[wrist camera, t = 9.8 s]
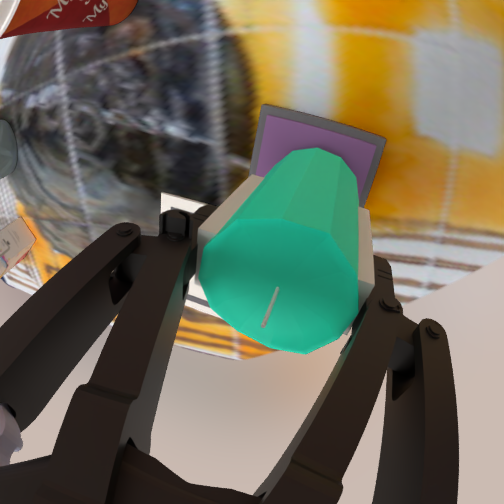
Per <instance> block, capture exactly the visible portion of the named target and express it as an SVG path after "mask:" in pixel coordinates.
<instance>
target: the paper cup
mask: <svg viewBox="0 0 504 504" xmlns="http://www.w3.org/2000/svg"><path fill="white" fill-rule="evenodd" d="M137 2H138V0H0V39H3V38H7V37H12V36H17V35H23V34H29V33H36V32H44V31H54V30H62V29H70V28H80V27H97V26H110V25H115V24H118V23H120V22H121V21H123V20H124V19H125V18H127V17H128V16H129V15H130V13H131V12H132V11H133V9H134V8H135V6H136V4H137Z"/></svg>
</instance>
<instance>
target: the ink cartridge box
mask: <svg viewBox="0 0 504 504" xmlns="http://www.w3.org/2000/svg"><path fill="white" fill-rule="evenodd" d="M35 240H36V239H35V237H34V236H33V234H32V233H31V231H30V230H29V228H28V227H27V225H26V223H25V222H24V220H23V219H22V217H19V218H18V219H16V220H15V221H13V222H12V223H11V224H9V225H8V226H6V227H5V228H4V229H2V230H1V231H0V278H1V277H2V276H3V275H4V274H6V273H7V272H8V271H9V270H10V269H12V268H13V267H14V266H15V265H16V264H18V263H19V262H20V261H21V260H22V259H24V258H25V256H26V254H27V253H28V251H29V250H30V248H31V247H32V245H33V243H34V242H35Z"/></svg>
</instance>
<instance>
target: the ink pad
mask: <svg viewBox="0 0 504 504" xmlns="http://www.w3.org/2000/svg"><path fill="white" fill-rule="evenodd" d="M385 143H386V139H385V138H384V137H381V136H379V135H376V134H373V133H370V132H367V131H364V130H361V129H358V128H355V127H352V126H348V125H345V124H342V123H339V122H335V121H332V120H328V119H325V118H321V117H318V116H314V115H310V114H306V113H302V112H298V111H294V110H290V109H286V108H281V107H277V106H272V105H268V104H263V105H262V106H261V112H260V117H259V122H258V128H257V133H256V138H255V144H254V149H253V155H252V160H251V166H250V171H249V177H250V176H251V175H252V174H253V175H257V176H260V177H265V176H266V175H267V173H268V172H269V171H270V170H271V169H272V168H273V167H274V166H275V165H276V164H277V163H278V162H279V161H281V160H282V159H283V158H284V157H286V156H287V155H288V154H289V153H291V152H292V151H294V150H302V149H310V148H320V149H322V150H325V151H327V152H329V153H332V154H334V155H336V156H339V157H341V158H342V159H343V161H344V162H345V163H346V164H347V166H348V167H349V168H350V170H351V171H352V172H353V174H354V175H355V176H356V180H357V188H358V198H359V207H361V208H364V205H365V203H366V200H367V197H368V194H369V191H370V188H371V186H372V183H373V180H374V177H375V174H376V171H377V168H378V165H379V162H380V159H381V155H382V152H383V149H384V146H385ZM249 177H248V178H249Z"/></svg>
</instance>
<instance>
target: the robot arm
mask: <svg viewBox="0 0 504 504" xmlns="http://www.w3.org/2000/svg"><path fill="white" fill-rule="evenodd" d="M263 179H264V177H260V176H257V175H253V174H252V175H251V176H250V177H249V178H248V179H247V180H246V181H244V182H243V183H242V184H241V185H240V186H239V187H238V188H237V189H236V190H235V191H234V192H233V193H232V194H231V195H230V196H229V197H228V198H227V199H226V200H225V201H224V202H223V203H222V204H221V205H220V206H219V207H216V206H213V205H209V204H207V205H205V206H202V207H199V208H198V209H197V210H196V211H195V212H194V213H193V214H190V213H189V212H187V211H184V210H177V209H173V210H167V211H165V212H162V213H161V214H160V216H159V235H158V236H146V235H141V230H140V227H139V226H138V225H136V224H134V223H128V222H126V223H125V222H124V223H120V224H116V225H115V226H113V227H111V228H110V229H109V230H108V231H106V232H105V233H104V234H102V235H101V236H100V237H99V238H97V239H96V240H95V241H94V242H93V243H91V244H90V245H89V246H88V247H86V248H85V249H84V250H83V251H82V252H81V253H79V254H78V255H77V256H76V257H75V258H73V259H72V260H71V261H70V262H69V263H68V264H66V265H65V266H64V267H63V268H62V269H61V270H60V271H58V272H57V273H56V274H55V275H54V276H53V277H52V278H51V279H50V280H48V281H47V282H46V283H45V284H44V285H43V286H42V287H41V288H40V289H39V290H38V291H37V292H36V293H34V294H33V295H32V296H31V297H30V298H29V299H28V300H27V301H26V302H25V303H24V304H23V305H22V306H21V307H20V308H19V309H18V310H17V311H16V312H15V313H14V314H13V315H12V316H11V317H10V318H9V319H8V320H7V321H6V322H5V323H4V324H3V325H2V326H1V327H0V504H337V502H338V501H339V499H340V496H341V494H342V491H343V485H342V478H343V476H344V473H345V472H346V469H347V467H348V465H349V463H350V461H351V459H352V457H353V455H354V452H355V451H356V448H357V446H358V443H359V441H360V439H361V437H362V434H363V432H364V430H365V428H366V425H367V423H368V420H369V418H370V415H371V412H372V410H373V407H374V405H375V402H376V399H377V397H378V394H379V391H380V388H381V385H382V382H383V379H384V376H385V373H386V370H387V383H386V402H385V415H384V426H383V436H382V445H381V453H380V460H379V467H378V473H377V480H376V486H375V491H374V496H373V502H372V504H457V496H458V479H459V478H458V477H459V436H458V417H457V404H456V394H455V385H454V377H453V369H452V363H451V356H450V350H449V345H448V339H447V335H446V332H445V330H444V328H443V327H442V326H441V325H440V324H439V323H438V322H436V321H434V320H432V319H427V318H426V319H423V320H422V321H421V322H420V323H419V324H417V323H415V322H413V321H411V320H409V319H408V318H407V317H405V316H404V315H403V308H402V306H401V304H400V302H399V301H398V300H397V299H396V298H395V295H394V286H393V281H392V280H393V278H392V270H391V266H390V265H389V263H388V261H387V260H386V259H384V258H381V257H378V256H375V255H373V246H372V234H371V223H370V213H369V210H367V209H364V208H361V207H359V206H358V227H359V262H358V289H359V310H358V315H357V316H356V317H355V319H354V320H353V321H352V322H351V324H350V325H349V326H348V328H347V329H346V330H345V331H344V333H343V334H345V335H347V334H348V332H349V331H350V329H351V327H352V335H351V336H350V338H349V339H348V341H347V343H346V344H345V346H344V348H343V349H342V351H341V353H340V354H341V355H340V357H339V359H338V361H337V363H336V365H335V367H334V369H333V371H332V372H331V374H330V376H329V378H328V380H327V382H326V384H325V386H324V387H323V389H322V391H321V393H320V395H319V396H318V398H317V400H316V402H315V403H314V405H313V407H312V409H311V410H310V412H309V414H308V415H307V417H306V419H305V420H304V422H303V424H302V425H301V427H300V429H299V430H298V432H297V433H296V435H295V437H294V438H293V440H292V442H291V443H290V444H289V446H288V448H287V449H286V451H285V452H284V454H283V455H282V457H281V458H280V460H279V461H278V463H277V464H276V466H275V467H274V469H273V470H272V471H271V473H270V474H269V476H268V477H267V478H266V479H265V481H264V482H263V483H262V484H261V485H260V487H259V488H258V489H257V490H256V492H255V493H254V494H253V495H249V494H246V493H243V492H239V491H236V490H233V489H227V488H218V487H210V486H203V485H196V484H191V483H188V482H186V481H185V480H183V479H182V478H180V477H179V476H178V475H176V474H175V473H174V472H172V471H171V470H170V469H168V468H167V467H166V466H165V465H163V464H162V463H161V462H159V461H158V460H157V459H156V458H154V457H152V456H150V455H149V453H150V445H151V431H152V426H153V422H154V417H155V414H156V410H157V405H158V401H159V397H160V393H161V389H162V385H163V381H164V378H165V374H166V370H167V366H168V362H169V358H170V355H171V351H172V347H173V344H174V340H175V337H176V333H177V329H178V326H179V322H180V319H181V315H182V312H183V308H184V305H185V302H186V298H187V295H188V291H189V282H190V280H191V278H192V277H193V276H194V274H195V278H194V284H195V285H198V286H201V284H200V281H199V279H198V275H199V270H200V265H201V259H202V254H203V249H204V246H205V245H206V244H207V243H208V242H209V241H210V239H211V238H213V237H214V236H215V235H216V234H217V233H218V232H219V231H220V230H221V228H222V227H223V226H224V225H225V224H226V222H227V221H228V220H229V219H230V218H231V217H232V215H233V214H234V213H235V212H236V211H237V209H238V208H239V207H240V206H241V205H242V204H243V202H244V201H245V200H246V199H247V198H248V197H249V195H250V194H251V193H252V192H253V191H254V190H255V189H256V187H257V186H258V185H259V184H260V183H261V182H262V180H263ZM113 270H114V271H113ZM112 271H113V272H112ZM201 287H202V286H201ZM118 313H119V314H118ZM117 314H118V316H117V318H116V320H115V323H114V325H113V327H112V329H111V331H110V334H109V336H108V338H107V340H106V343H105V345H104V347H103V349H102V352H101V354H100V357H99V359H98V361H97V364H96V366H95V369H94V371H93V374H92V376H91V378H90V380H89V382H88V383H87V384H83V385H80V386H79V387H78V388H77V389H76V390H75V392H74V394H73V396H72V399H71V402H70V404H69V407H68V410H67V412H66V415H65V417H64V420H63V423H62V426H61V428H60V432H59V434H58V437H57V440H56V443H55V446H54V449H53V452H52V455H48V456H44V457H40V458H37V459H33V460H28V461H24V462H20V463H15V464H10V458H11V455H12V453H13V452H17V451H19V450H21V448H22V446H23V441H22V439H21V434H20V433H21V432H22V431H23V430H24V429H26V428H27V427H28V426H29V425H30V424H31V423H32V422H33V421H34V420H35V419H36V418H37V416H38V415H39V414H40V413H41V411H42V410H43V409H44V408H45V406H46V405H47V403H48V402H49V401H50V399H51V398H52V397H53V395H54V394H55V392H56V391H57V390H58V389H59V387H60V386H61V384H62V383H63V382H64V380H65V379H66V378H67V377H68V375H69V374H70V373H71V371H72V370H73V369H74V368H75V366H76V365H77V364H78V362H79V361H80V360H81V359H82V357H83V356H84V355H85V353H86V352H87V351H88V350H89V348H90V347H91V346H92V345H93V343H94V342H95V341H96V339H97V338H98V337H99V336H100V335H101V334H102V332H103V331H104V330H105V329H106V327H107V326H108V325H109V324H110V323H111V321H112V320H113V319H114V318H115V317H116V315H117Z"/></svg>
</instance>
